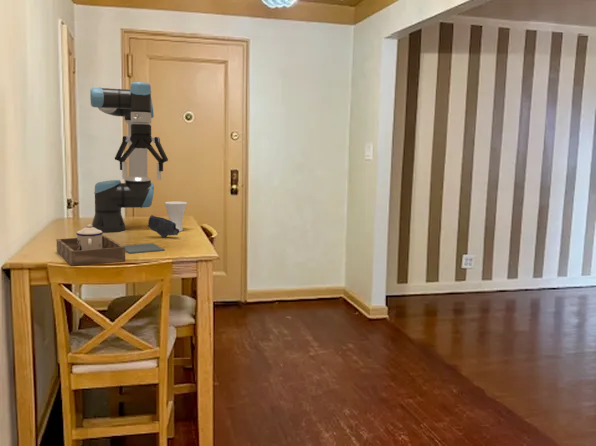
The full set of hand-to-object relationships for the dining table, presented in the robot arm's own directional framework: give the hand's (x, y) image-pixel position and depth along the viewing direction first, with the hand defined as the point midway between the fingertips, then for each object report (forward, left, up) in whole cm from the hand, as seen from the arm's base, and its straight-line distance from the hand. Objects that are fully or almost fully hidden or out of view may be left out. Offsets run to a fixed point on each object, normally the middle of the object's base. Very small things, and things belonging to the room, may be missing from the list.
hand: (141, 179), depth 216 cm
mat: (-2, 0, -28) cm, 28 cm away
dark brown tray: (+4, -21, -28) cm, 35 cm away
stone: (-23, +17, -28) cm, 40 cm away
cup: (-39, +29, -28) cm, 56 cm away
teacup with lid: (+4, -21, -28) cm, 35 cm away
